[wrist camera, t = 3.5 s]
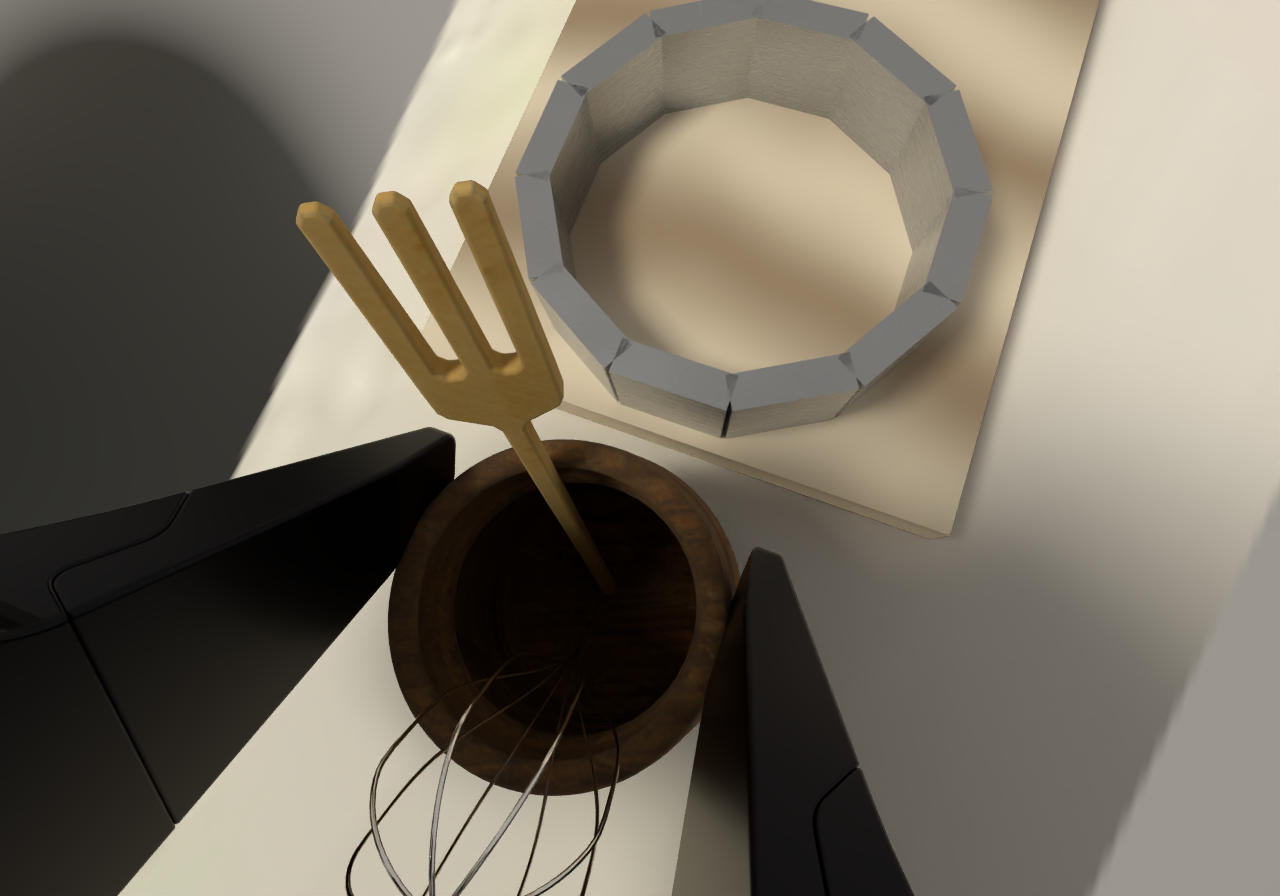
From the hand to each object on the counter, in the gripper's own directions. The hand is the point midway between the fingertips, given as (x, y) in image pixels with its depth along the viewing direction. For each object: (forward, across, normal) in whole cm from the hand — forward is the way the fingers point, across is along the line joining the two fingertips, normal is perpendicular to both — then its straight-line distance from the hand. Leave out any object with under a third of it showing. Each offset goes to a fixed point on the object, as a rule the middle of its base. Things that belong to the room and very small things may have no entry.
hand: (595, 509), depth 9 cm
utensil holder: (+4, 0, +6) cm, 7 cm away
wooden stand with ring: (+14, 0, -5) cm, 15 cm away
